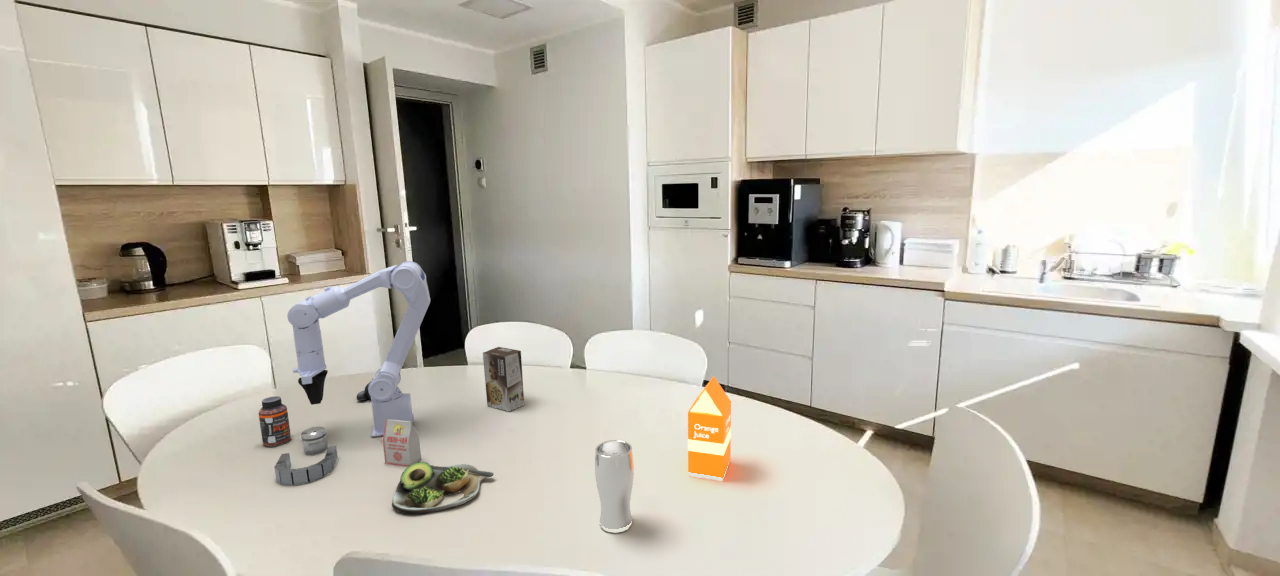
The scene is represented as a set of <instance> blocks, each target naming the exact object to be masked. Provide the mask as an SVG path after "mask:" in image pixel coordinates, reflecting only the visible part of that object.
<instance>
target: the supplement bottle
mask: <svg viewBox="0 0 1280 576" xmlns="http://www.w3.org/2000/svg"><path fill="white" fill-rule="evenodd" d="M258 420H259V426H260V432H261V441H262V445H264V446H265V447H276V446H281V445H283V444H286V443H287V442H289V441H290V440H291V436H292V435H291V428H290V420H289V413H288V408H287V405H286V404H283V403H282V397H281V396H279V395H277V396H276V395H275V396H269V397H265V398H263V399H262V400H261V408H260V409H259V410H258Z"/></svg>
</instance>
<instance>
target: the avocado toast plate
mask: <svg viewBox="0 0 1280 576" xmlns="http://www.w3.org/2000/svg"><path fill="white" fill-rule="evenodd" d="M493 476H494V472H493V471H492V472H491V471H483V470H479V469H478V468H477V467H476V466H474V465H471V464H467V463H460V464H452V465H446V466H445V465H444V466H436V465H433V464H429V463H428V462H424V461H418V462H417V463H414V464H412V465H410V466H406V468H405V469H404V470H403V471H402V473H401V475H400V481H399V482H398V483H397V486H396V489H395V493H394V496H393V498H392V501H391V507H392V508H393V509H395V510H396V511H397V512H399V513H402V514H404V515H405V514H406V515H420V514H426V513H431V512H438V511H441V510H446V509H449V508H454V507H458V506H461V505H464V504H465V503H467V501H468V502H469V501H471V500H472V499H473V498H475V497H476V496H477V495H478V493H479V490H480V487H481V486H480V485H481V482H482V481H483V480H485V479H488V478H492V477H493ZM459 491H460V492H459ZM453 493H456V494H458V493H461V494H462V495H463V494H464V495H463V496H461V498H459V499H457V500H455V501H452V502H449V503H447V504H444V505H439V506H437V505H438V504H439V503H440V502H441V501H442V498H443V497H444V496H445V497H447V496H450V495H453ZM449 494H450V495H449ZM445 497H444V498H445ZM444 498H443V499H444ZM438 502H439V503H438ZM437 503H438V504H437ZM437 510H438V511H437Z"/></svg>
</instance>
